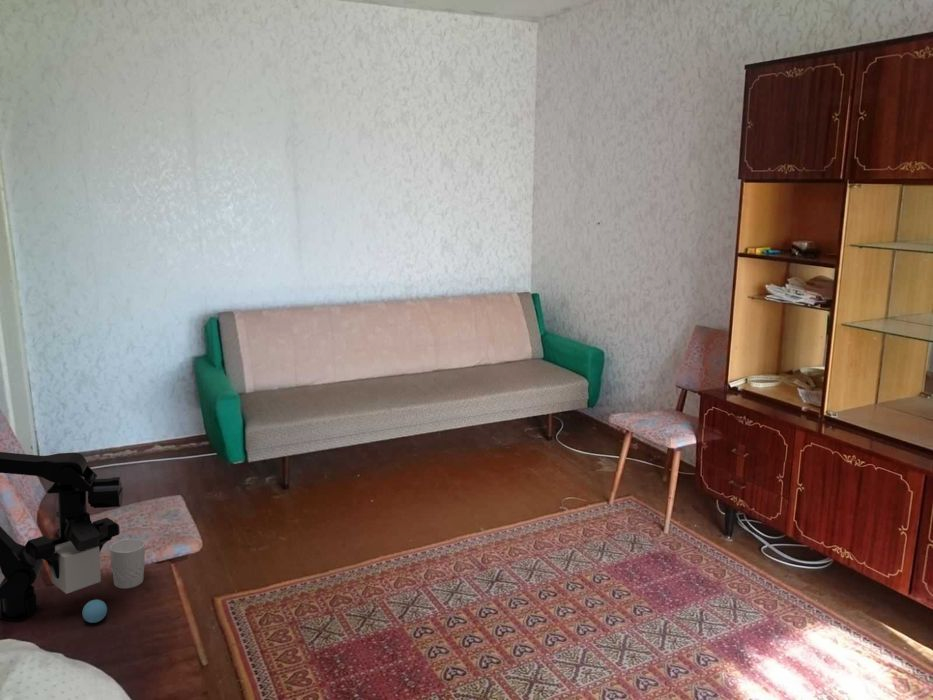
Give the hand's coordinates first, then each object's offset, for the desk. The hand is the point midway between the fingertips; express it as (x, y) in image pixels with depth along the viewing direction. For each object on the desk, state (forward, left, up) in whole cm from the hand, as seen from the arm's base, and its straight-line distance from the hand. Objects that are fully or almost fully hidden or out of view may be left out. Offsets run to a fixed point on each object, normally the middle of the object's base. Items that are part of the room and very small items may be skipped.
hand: (75, 571), depth 169 cm
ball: (+8, -4, -7) cm, 11 cm away
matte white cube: (0, 0, -3) cm, 2 cm away
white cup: (+5, +13, -9) cm, 17 cm away
